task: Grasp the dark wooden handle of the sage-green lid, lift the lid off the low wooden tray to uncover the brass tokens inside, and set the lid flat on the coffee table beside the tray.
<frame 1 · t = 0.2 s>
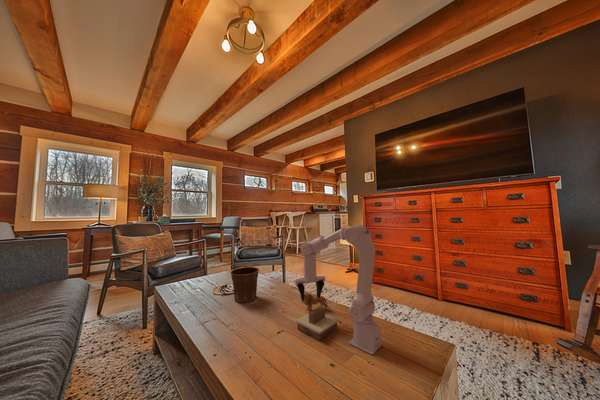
hand: (310, 298, 97), 10 cm above the table, tool pointing down, fingers open, 7 cm apart
wooden tray: (317, 328, 90), on the table
plant pot: (245, 299, 123), on the table
lid: (317, 321, 90), point 3 cm above the table, touching wooden tray
lion figurine: (314, 310, 107), on the table
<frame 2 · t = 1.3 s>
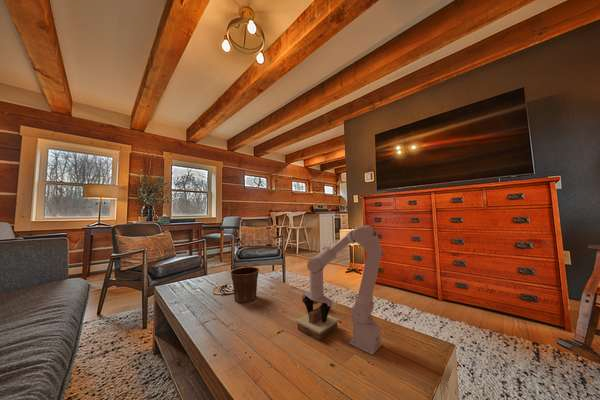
hand: (317, 318, 90), 4 cm above the table, tool pointing down, fingers open, 7 cm apart
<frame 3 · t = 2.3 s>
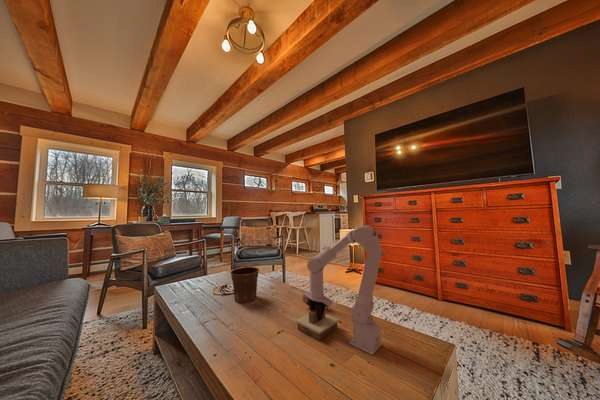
hand: (317, 318, 90), 4 cm above the table, tool pointing down, fingers closed on lid, 2 cm apart
lid: (317, 321, 90), point 3 cm above the table, touching gripper, wooden tray
everything else where it was.
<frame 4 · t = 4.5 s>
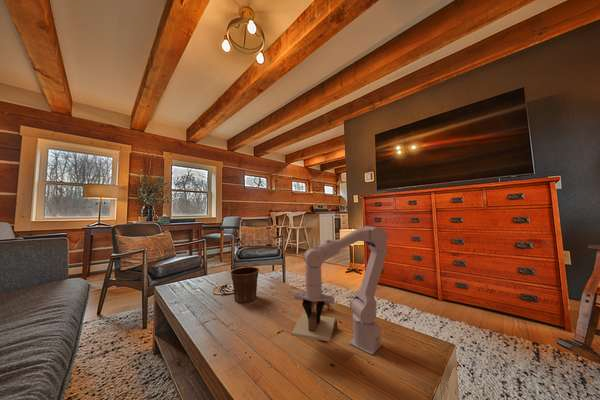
hand: (314, 321, 76), 10 cm above the table, tool pointing down, fingers closed on lid, 2 cm apart
lid: (314, 327, 76), point 8 cm above the table, touching gripper
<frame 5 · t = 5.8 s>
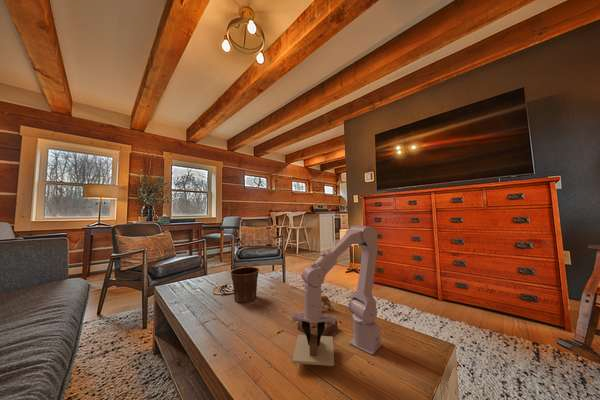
hand: (313, 343, 72), 5 cm above the table, tool pointing down, fingers closed on lid, 2 cm apart
lid: (314, 349, 72), point 3 cm above the table, touching gripper
when the fingers open (4 cm above the table, at t = 6.7 s): lid drops 2 cm, on the table.
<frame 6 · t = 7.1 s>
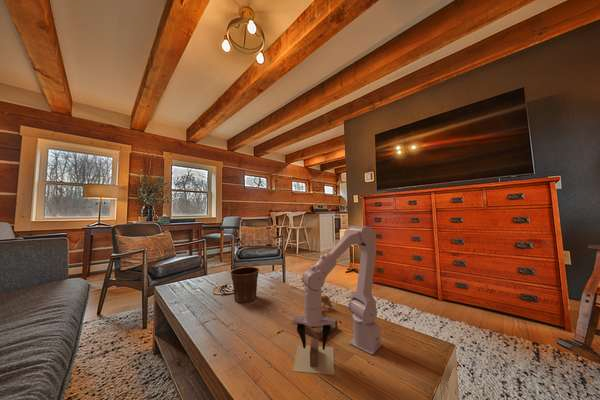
hand: (314, 347, 72), 4 cm above the table, tool pointing down, fingers open, 6 cm apart
lid: (314, 360, 72), on the table
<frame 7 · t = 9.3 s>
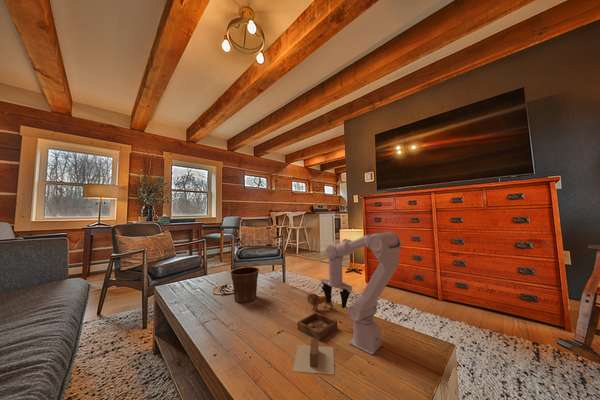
hand: (336, 304, 92), 9 cm above the table, tool pointing down, fingers open, 7 cm apart
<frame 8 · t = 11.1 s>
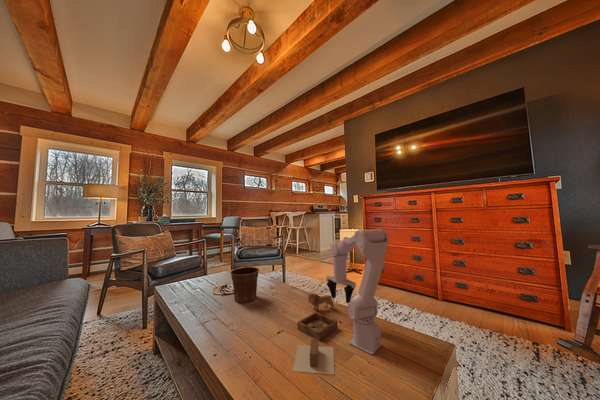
hand: (340, 300, 96), 9 cm above the table, tool pointing down, fingers open, 7 cm apart
at the end: lid touching table; lid inside the target area (0.4 cm from its centre), on the table; lid tilted 0° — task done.
